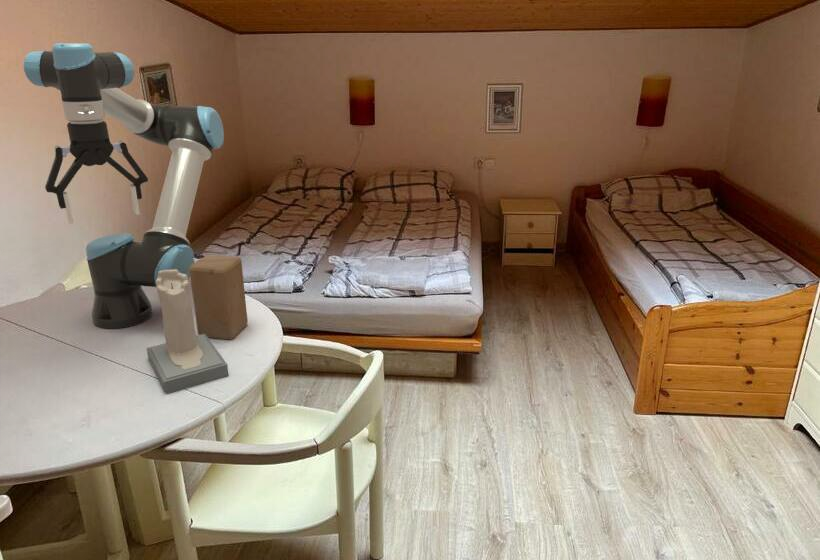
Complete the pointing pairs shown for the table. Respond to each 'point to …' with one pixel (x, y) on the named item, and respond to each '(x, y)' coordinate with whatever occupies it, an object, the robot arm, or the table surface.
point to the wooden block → (218, 296)
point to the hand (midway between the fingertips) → (104, 217)
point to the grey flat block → (184, 378)
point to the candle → (178, 319)
